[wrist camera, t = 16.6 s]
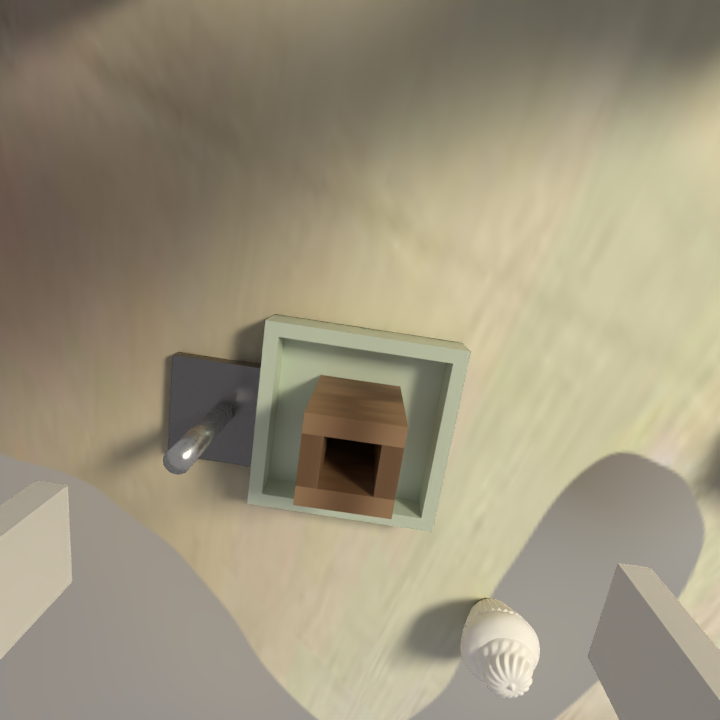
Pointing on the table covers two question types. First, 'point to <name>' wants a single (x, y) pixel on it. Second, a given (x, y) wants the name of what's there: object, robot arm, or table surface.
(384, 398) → the bore block
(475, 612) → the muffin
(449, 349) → the tray
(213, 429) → the pin
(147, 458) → the table surface
